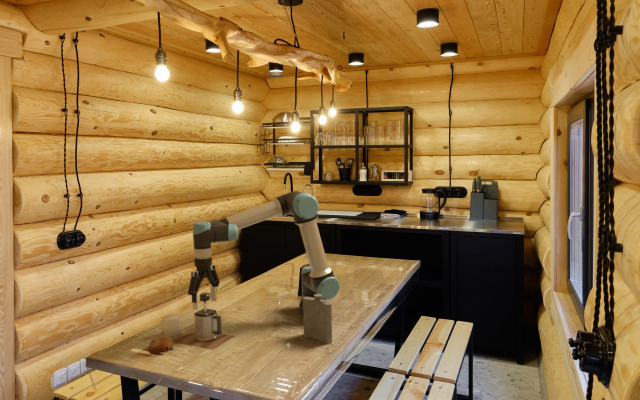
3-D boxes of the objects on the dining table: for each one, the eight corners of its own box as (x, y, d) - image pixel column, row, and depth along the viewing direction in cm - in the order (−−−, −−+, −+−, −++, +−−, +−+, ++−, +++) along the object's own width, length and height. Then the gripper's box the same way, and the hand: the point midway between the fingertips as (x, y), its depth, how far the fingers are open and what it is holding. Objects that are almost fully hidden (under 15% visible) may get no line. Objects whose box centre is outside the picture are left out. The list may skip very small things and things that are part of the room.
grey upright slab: (302, 335, 223) (301, 292, 221) (308, 332, 226) (307, 290, 224) (329, 344, 213) (328, 299, 211) (335, 341, 216) (334, 297, 214)
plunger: (217, 330, 222) (216, 292, 220) (207, 336, 215) (206, 297, 213) (205, 328, 225) (203, 291, 223) (194, 334, 218) (192, 295, 216)
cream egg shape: (185, 334, 227) (184, 315, 226) (173, 341, 219) (172, 321, 218) (169, 331, 230) (168, 313, 229) (157, 337, 223) (156, 318, 222)
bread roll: (167, 353, 216) (161, 335, 217) (180, 348, 210) (174, 330, 211) (147, 361, 207) (141, 343, 209) (161, 356, 202) (155, 337, 203)
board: (234, 338, 221) (234, 335, 221) (212, 352, 207) (212, 349, 206) (192, 330, 231) (192, 328, 231) (168, 343, 217) (168, 340, 217)
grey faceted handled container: (227, 335, 221) (226, 310, 220) (213, 343, 212) (212, 317, 211) (204, 331, 227) (203, 306, 225) (190, 339, 218) (189, 313, 216)
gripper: (213, 250, 228) (214, 296, 231) (177, 262, 207) (180, 312, 209) (226, 252, 225) (228, 298, 228) (191, 264, 203) (194, 314, 206)
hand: (205, 305), depth 218 cm, fingers open, 12 cm apart
